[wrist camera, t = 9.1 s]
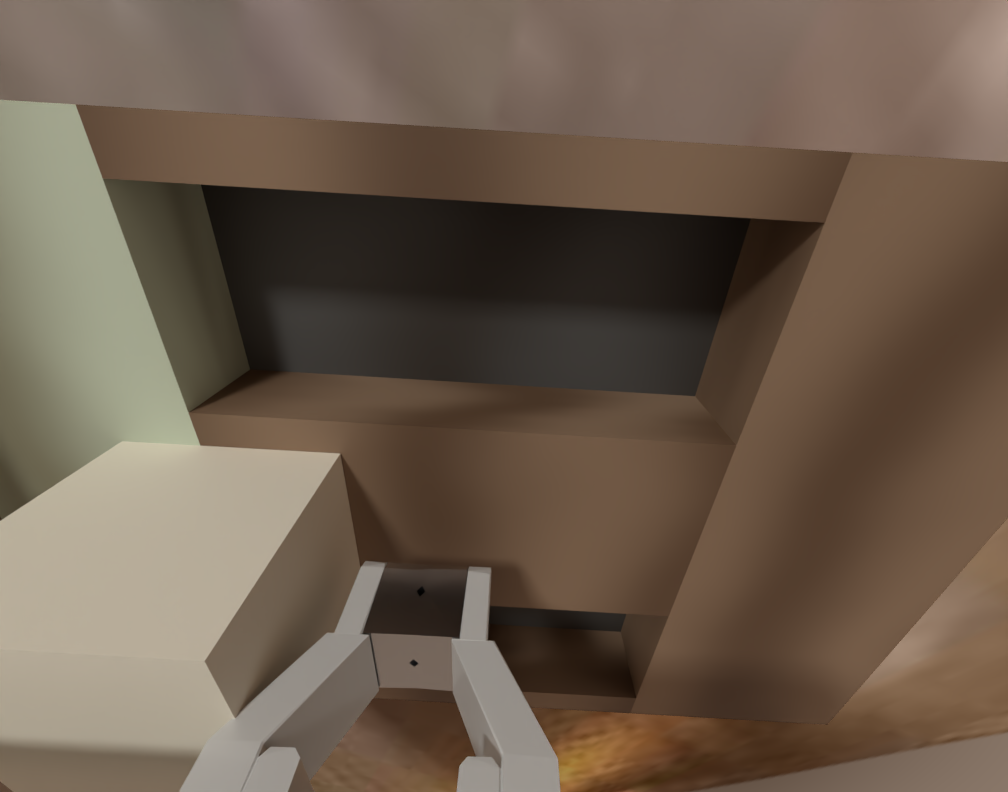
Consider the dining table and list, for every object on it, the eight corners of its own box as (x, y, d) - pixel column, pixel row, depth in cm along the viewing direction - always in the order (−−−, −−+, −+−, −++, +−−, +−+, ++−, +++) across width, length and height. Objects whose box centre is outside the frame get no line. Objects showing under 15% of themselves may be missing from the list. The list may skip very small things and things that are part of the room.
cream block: (339, 453, 9) (205, 660, 5) (365, 595, 12) (285, 813, 8) (122, 441, 9) (-181, 638, 5) (191, 585, 12) (20, 797, 8)
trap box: (1096, 180, 8) (1885, 179, 4) (785, 651, 16) (899, 848, 12) (-145, 104, 8) (-1060, -4, 4) (149, 614, 16) (-5, 797, 11)
